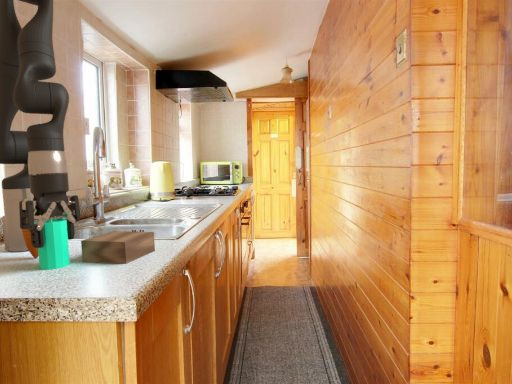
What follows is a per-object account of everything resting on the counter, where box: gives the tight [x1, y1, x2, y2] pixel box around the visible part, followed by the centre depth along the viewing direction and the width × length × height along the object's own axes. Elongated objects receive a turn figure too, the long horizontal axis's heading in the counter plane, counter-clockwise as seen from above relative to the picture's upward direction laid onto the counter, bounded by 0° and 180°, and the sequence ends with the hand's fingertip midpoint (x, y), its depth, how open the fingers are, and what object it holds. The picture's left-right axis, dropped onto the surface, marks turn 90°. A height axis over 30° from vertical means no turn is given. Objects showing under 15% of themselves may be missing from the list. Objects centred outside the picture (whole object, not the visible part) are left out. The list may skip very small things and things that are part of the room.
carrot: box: [22, 199, 41, 259], centre depth 87 cm, size 5×5×15 cm
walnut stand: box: [80, 230, 156, 264], centre depth 86 cm, size 12×12×5 cm
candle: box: [38, 217, 71, 271], centre depth 79 cm, size 6×6×12 cm
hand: (54, 243), depth 79 cm, fingers open, 8 cm apart
